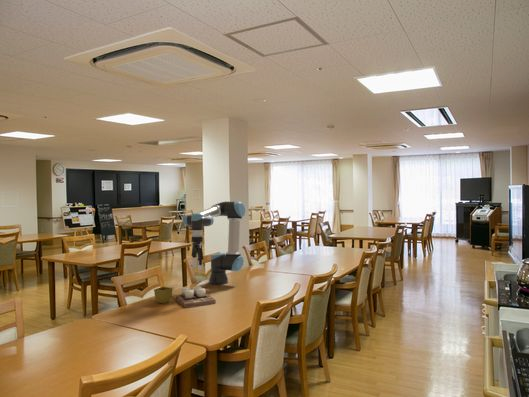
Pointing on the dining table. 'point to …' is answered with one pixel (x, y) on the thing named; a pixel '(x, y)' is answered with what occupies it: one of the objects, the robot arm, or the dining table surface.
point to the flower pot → (163, 294)
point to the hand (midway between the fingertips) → (197, 268)
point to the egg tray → (195, 300)
